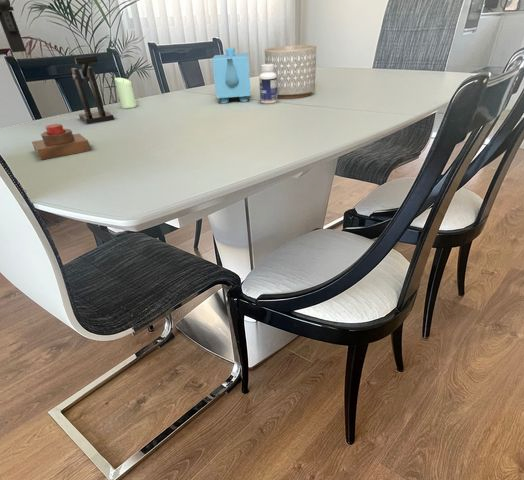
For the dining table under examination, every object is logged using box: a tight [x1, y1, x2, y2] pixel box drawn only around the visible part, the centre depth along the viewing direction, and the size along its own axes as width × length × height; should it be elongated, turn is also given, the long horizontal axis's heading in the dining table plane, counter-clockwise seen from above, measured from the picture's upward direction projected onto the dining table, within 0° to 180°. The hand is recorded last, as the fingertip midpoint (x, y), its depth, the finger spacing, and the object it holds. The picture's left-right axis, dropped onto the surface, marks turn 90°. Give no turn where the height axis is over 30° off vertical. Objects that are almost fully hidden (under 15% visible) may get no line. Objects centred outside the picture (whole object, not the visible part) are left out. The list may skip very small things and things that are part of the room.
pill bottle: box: [258, 63, 278, 105], centre depth 120 cm, size 5×5×10 cm
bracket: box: [70, 66, 115, 125], centre depth 113 cm, size 10×8×13 cm
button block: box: [31, 128, 92, 161], centre depth 90 cm, size 11×9×4 cm
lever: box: [74, 55, 99, 83], centre depth 106 cm, size 12×6×2 cm, turn 32°
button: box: [45, 123, 65, 135], centre depth 88 cm, size 4×4×2 cm
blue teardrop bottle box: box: [211, 47, 252, 104], centre depth 124 cm, size 22×11×14 cm, turn 2°
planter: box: [264, 44, 317, 100], centre depth 126 cm, size 16×16×13 cm
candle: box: [114, 77, 137, 109], centre depth 128 cm, size 5×5×8 cm
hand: (19, 51), depth 83 cm, fingers closed
